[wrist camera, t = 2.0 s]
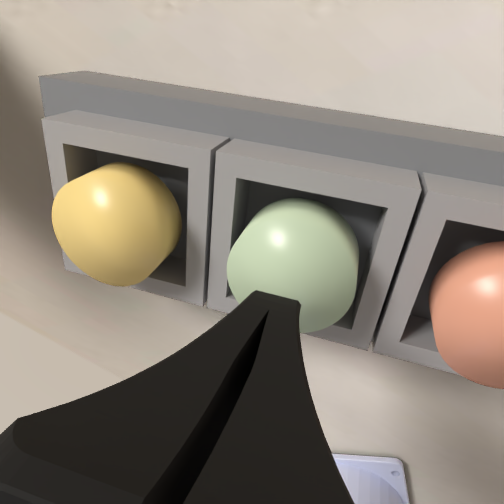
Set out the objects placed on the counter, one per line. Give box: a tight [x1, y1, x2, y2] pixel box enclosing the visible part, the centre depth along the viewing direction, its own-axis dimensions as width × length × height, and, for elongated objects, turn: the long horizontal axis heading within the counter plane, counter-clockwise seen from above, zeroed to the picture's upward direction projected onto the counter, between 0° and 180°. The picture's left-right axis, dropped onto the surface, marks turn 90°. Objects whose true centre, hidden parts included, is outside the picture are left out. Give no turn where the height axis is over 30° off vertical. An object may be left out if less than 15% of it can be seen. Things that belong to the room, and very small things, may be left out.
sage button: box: [227, 198, 359, 333], centre depth 14 cm, size 4×4×2 cm
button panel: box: [39, 71, 504, 376], centre depth 17 cm, size 24×9×5 cm, turn 83°
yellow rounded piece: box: [52, 162, 182, 286], centre depth 16 cm, size 4×4×2 cm
